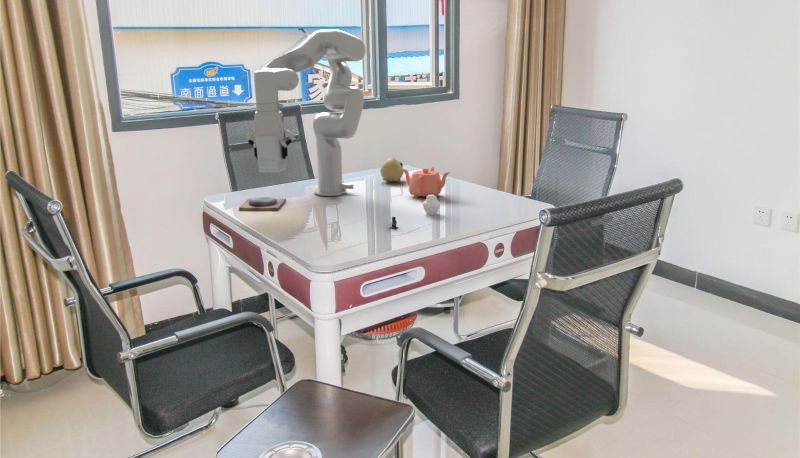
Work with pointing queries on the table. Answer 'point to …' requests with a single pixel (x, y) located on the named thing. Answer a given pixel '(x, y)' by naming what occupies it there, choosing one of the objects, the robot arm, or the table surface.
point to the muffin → (431, 205)
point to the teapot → (425, 182)
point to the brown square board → (263, 204)
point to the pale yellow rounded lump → (392, 170)
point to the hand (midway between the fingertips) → (271, 158)
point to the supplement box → (270, 154)
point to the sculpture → (394, 224)
